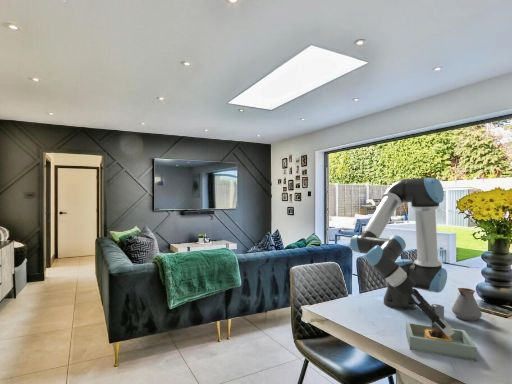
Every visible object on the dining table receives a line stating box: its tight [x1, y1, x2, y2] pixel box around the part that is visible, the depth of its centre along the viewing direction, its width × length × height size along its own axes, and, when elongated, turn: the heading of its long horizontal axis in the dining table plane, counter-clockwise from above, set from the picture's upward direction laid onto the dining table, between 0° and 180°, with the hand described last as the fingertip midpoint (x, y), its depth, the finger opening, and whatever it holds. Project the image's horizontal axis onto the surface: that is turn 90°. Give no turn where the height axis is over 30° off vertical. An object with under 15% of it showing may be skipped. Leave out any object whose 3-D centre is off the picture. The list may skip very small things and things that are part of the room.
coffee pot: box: [451, 287, 483, 322], centre depth 139 cm, size 21×12×15 cm, turn 138°
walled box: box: [405, 321, 478, 362], centre depth 113 cm, size 15×20×4 cm
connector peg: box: [431, 303, 445, 339], centre depth 113 cm, size 4×4×12 cm
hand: (449, 331), depth 112 cm, fingers closed on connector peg, 4 cm apart
